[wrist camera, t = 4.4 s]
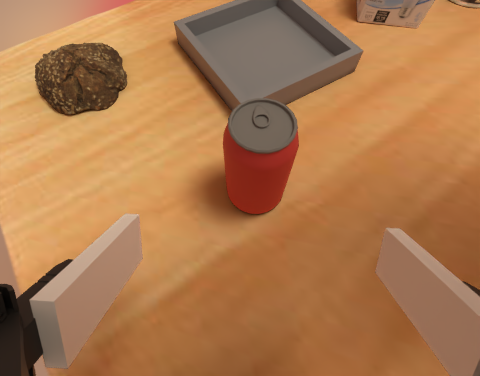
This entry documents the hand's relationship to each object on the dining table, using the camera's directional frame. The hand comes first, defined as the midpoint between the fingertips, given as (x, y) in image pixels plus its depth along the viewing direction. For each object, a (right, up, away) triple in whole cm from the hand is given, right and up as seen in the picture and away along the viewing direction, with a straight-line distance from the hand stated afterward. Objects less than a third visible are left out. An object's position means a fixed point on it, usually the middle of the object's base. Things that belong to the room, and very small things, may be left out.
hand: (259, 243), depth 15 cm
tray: (+3, +24, +28) cm, 37 cm away
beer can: (+1, +3, +18) cm, 18 cm away
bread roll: (-24, +18, +26) cm, 40 cm away
